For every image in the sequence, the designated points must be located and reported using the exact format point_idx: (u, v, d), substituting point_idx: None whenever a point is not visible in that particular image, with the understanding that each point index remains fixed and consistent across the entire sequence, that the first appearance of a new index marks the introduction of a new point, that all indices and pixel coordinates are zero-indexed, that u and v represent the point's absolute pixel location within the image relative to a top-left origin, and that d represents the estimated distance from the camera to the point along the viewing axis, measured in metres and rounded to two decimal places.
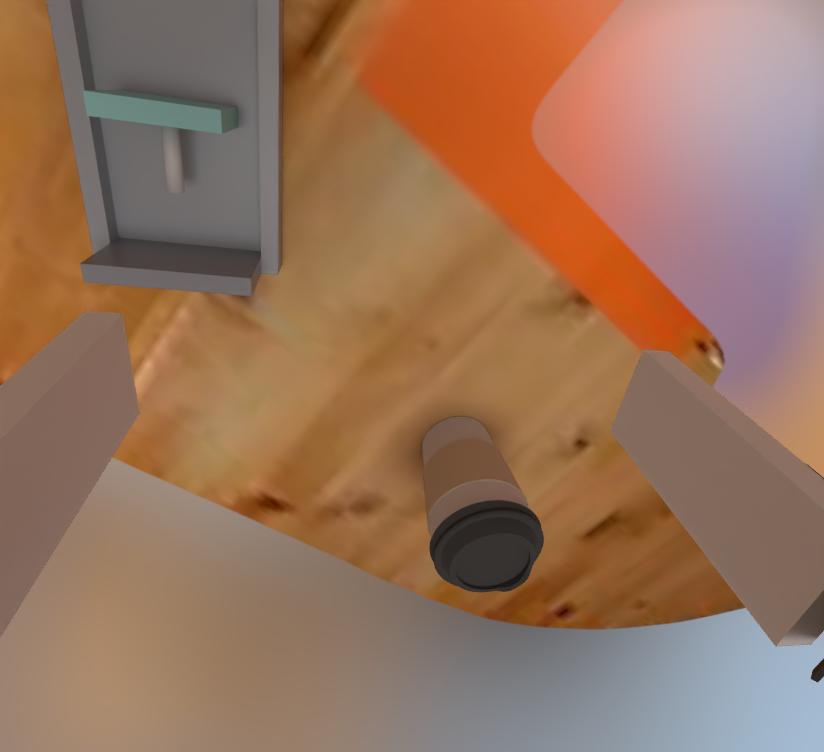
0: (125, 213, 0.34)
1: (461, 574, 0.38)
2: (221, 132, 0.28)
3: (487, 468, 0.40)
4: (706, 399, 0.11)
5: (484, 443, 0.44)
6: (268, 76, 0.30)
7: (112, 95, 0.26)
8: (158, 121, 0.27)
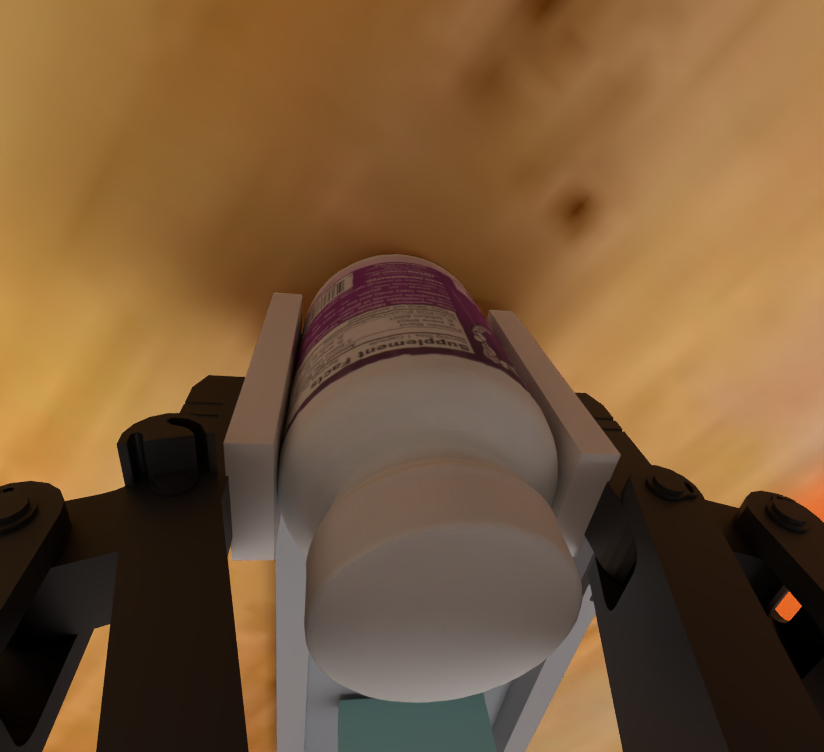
0: None
1: None
2: None
3: None
4: (521, 348, 0.12)
5: None
6: (542, 694, 0.23)
7: None
8: None
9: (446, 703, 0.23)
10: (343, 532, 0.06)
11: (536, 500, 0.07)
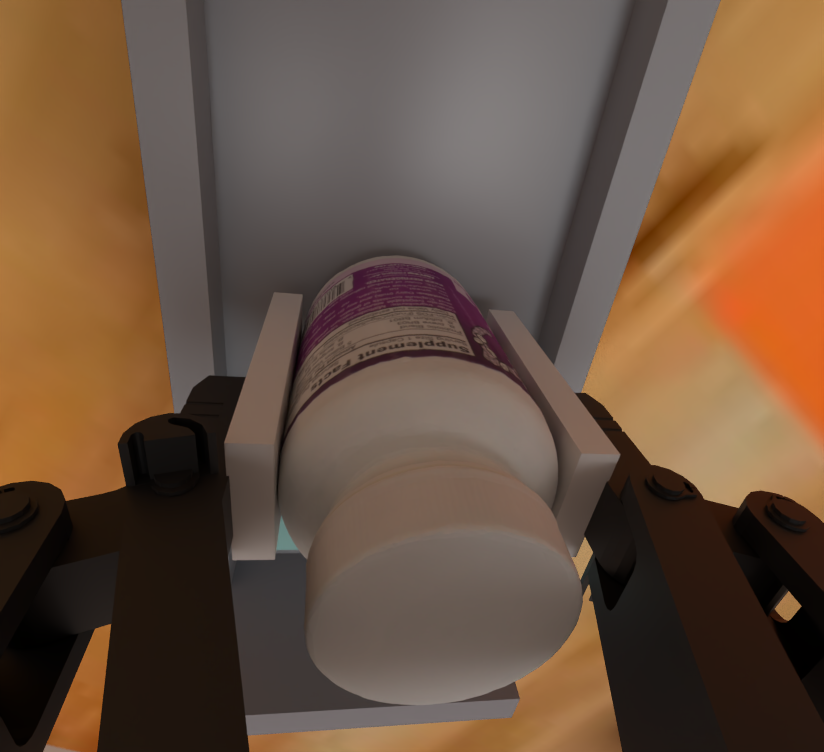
0: None
1: None
2: None
3: None
4: (520, 348, 0.12)
5: None
6: (583, 331, 0.15)
7: None
8: None
9: None
10: (343, 535, 0.06)
11: (536, 503, 0.07)
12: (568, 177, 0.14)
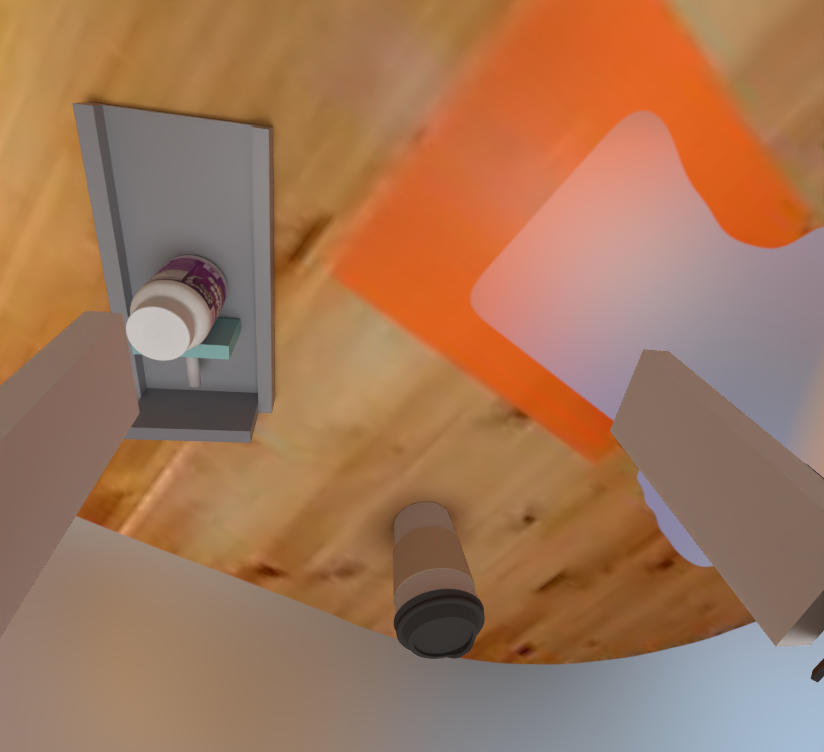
0: (152, 371, 0.44)
1: (418, 645, 0.48)
2: (229, 358, 0.39)
3: (441, 556, 0.50)
4: (706, 399, 0.11)
5: (442, 530, 0.54)
6: (262, 285, 0.40)
7: None
8: (183, 354, 0.38)
9: None
10: (133, 311, 0.32)
11: (178, 308, 0.32)
12: (249, 229, 0.39)
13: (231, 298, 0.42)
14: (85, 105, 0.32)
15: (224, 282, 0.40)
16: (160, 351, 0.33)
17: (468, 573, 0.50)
